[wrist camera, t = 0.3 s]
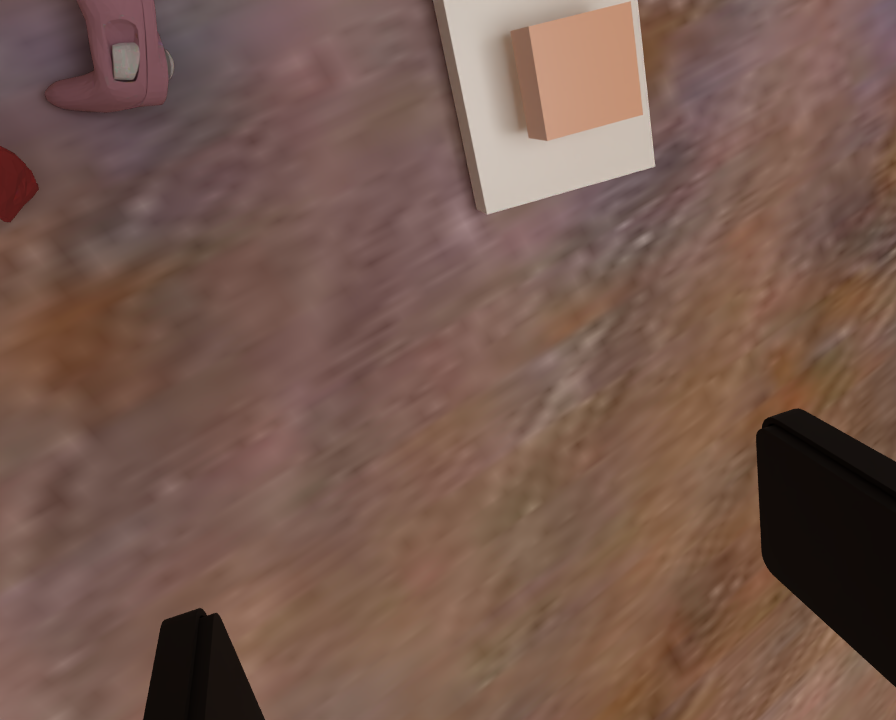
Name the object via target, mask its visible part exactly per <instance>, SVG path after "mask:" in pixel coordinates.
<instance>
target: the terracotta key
mask: <svg viewBox="0 0 896 720" xmlns="http://www.w3.org/2000/svg"><path fill="white" fill-rule="evenodd" d="M510 33H511V39H512V45H513V51H514V56H515V62H516V68H517V74H518V79H519V85H520V91H521V97H522V103H523V108H524V114H525V120H526V126H527V131H528V137H529V138H531V139H538V140H544V141H549V140H553V139H556V138H560V137H564V136H567V135H571V134H574V133H578V132H582V131H585V130H589V129H593V128H596V127H600V126H604V125H607V124H611V123H615V122H618V121H622V120H626V119H629V118H633V117H637V116H640V115H643V108H642V99H641V90H640V81H639V72H638V63H637V54H636V44H635V35H634V26H633V17H632V8H631V1H630V2H626V3H622V4H618V5H614V6H610V7H605V8H601V9H597V10H593V11H589V12H585V13H581V14H577V15H573V16H569V17H565V18H561V19H557V20H553V21H549V22H545V23H541V24H537V25H533V26H529V27H525V28H521V29H517V30H513V31H510Z"/></svg>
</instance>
